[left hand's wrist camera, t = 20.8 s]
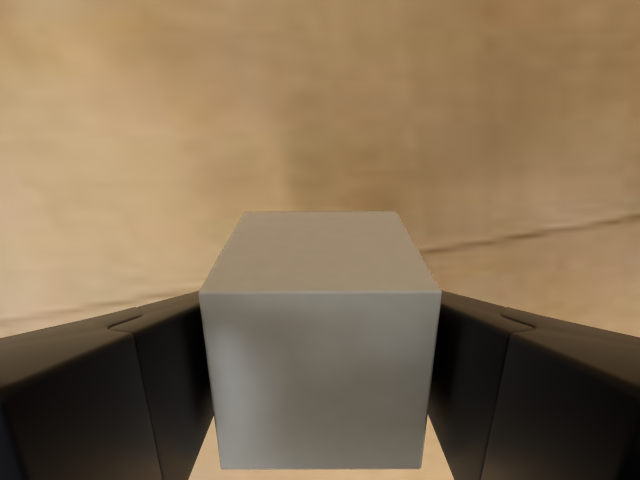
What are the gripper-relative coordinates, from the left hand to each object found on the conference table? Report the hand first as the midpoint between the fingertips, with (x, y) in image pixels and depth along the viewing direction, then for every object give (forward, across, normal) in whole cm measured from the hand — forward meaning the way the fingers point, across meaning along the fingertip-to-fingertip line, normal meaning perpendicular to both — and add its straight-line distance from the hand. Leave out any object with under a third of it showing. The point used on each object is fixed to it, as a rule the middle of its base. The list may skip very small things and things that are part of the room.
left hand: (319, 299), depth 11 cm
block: (+1, 0, 0) cm, 1 cm away
